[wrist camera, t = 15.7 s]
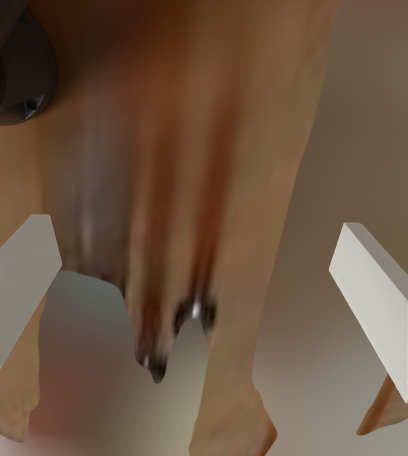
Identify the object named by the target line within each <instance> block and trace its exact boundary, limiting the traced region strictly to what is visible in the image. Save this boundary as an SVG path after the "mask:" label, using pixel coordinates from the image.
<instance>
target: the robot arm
mask: <svg viewBox="0 0 408 456" xmlns="http://www.w3.org/2000/svg"><path fill="white" fill-rule="evenodd" d="M28 2H29V0H0V126H8V125H15V124H19V123H22V122H25V121H27V120H29V119H31V118H33V117H35V116H37V115H38V114H40V113H41V112H42V111H43V110H44V109H45V108H46V107H47V105H48V104H49V102H50V101H51V99H52V97H53V94H54V91H55V87H56V79H57V70H56V62H55V57H54V53H53V50H52V47H51V44H50V42H49V39H48V37H47V35H46V33H45V32H44V30H43V28H42V27H41V25H40V23H39V22H38V21H37V19H36V18H35V17H34V15H33V14H32V13H31V12H30V11H29V10H28V9H27V8H26V6H27V4H28ZM61 266H62V262H61V258H60V254H59V250H58V246H57V242H56V238H55V234H54V230H53V226H52V222H51V218H50V215H36V214H32V215H31V216H30V217H29V218H28V219H27V220H26V221H25V222H24V223H23V224H22V225H21V226H20V228H19V229H18V230H17V231H16V232H15V233H14V234H13V235H12V236H11V237H10V238H9V239H8V240H7V241H6V243H5V244H4V245H3V246H2V247H1V248H0V369H1V367H2V366H3V364H4V362H5V360H6V359H7V357H8V355H9V354H10V352H11V350H12V349H13V347H14V345H15V344H16V342H17V340H18V339H19V337H20V335H21V333H22V332H23V330H24V328H25V327H26V325H27V323H28V322H29V320H30V318H31V317H32V315H33V313H34V311H35V310H36V308H37V306H38V305H39V303H40V301H41V300H42V298H43V296H44V295H45V293H46V291H47V290H48V288H49V286H50V284H51V283H52V281H53V279H54V278H55V276H56V274H57V273H58V271H59V269H60V268H61ZM329 271H330V273H331V275H332V276H333V278H334V280H335V281H336V283H337V285H338V287H339V288H340V290H341V292H342V294H343V295H344V297H345V299H346V301H347V302H348V304H349V306H350V308H351V309H352V311H353V313H354V314H355V316H356V318H357V320H358V321H359V323H360V325H361V327H362V328H363V330H364V332H365V333H366V335H367V337H368V339H369V340H370V342H371V344H372V346H373V347H374V349H375V351H376V353H377V354H378V356H379V358H380V359H381V361H382V363H383V365H384V366H385V368H386V370H387V372H388V373H389V375H390V377H391V379H392V380H393V382H394V384H395V385H396V387H397V389H398V391H399V392H400V394H401V396H402V398H403V399H404V401H405V403H408V275H407V274H406V273H405V272H404V271H403V270H402V268H401V267H400V266H399V265H398V264H397V263H396V262H395V261H394V260H393V258H392V257H391V256H390V255H389V254H388V253H387V252H386V251H385V250H384V248H383V247H382V246H381V245H380V244H379V243H378V242H377V241H376V239H375V238H374V237H373V236H372V235H371V234H370V233H369V232H368V231H367V230H366V229H365V227H364V226H363V225H362V224H361V223H344V225H343V228H342V231H341V234H340V237H339V240H338V243H337V246H336V249H335V252H334V255H333V259H332V262H331V265H330V268H329Z"/></svg>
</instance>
